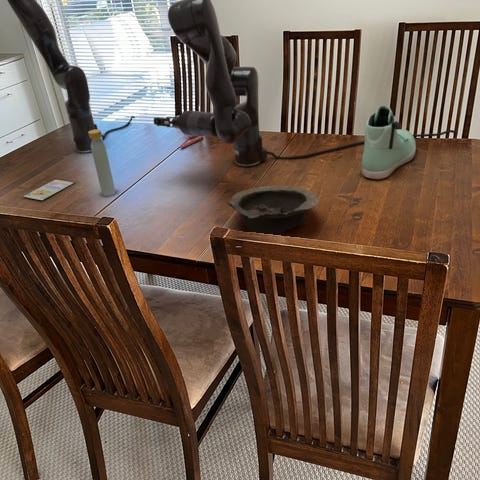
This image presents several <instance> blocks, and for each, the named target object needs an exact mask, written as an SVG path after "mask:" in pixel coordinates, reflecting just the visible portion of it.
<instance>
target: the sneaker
mask: <svg viewBox="0 0 480 480" xmlns="http://www.w3.org/2000/svg"><path fill="white" fill-rule="evenodd" d="M364 129H365V130H364V141H365V143H364V148H363V153H362V158H361V175H362V176H363V177H365V178H367V179H371V180H382V179H385V178H387V177H389V176H390V175H391V174H392V173H394V171H395V170H396V169H398V168H399V167H400V166H402V165H404V164H407V163H409V162H410V161H412V160H413V159H414V158H415V155H416V151H417V147H416V145H417V144H416V139H415V137H413V135H414V134H412V132H411V131H409V130H407V129H402V125H401V123H400V122H398V120H396V116H395V115H393V110H392V109H391V108H390V107H389V106H387V105H379V106H378V107H377V108H376V111H375V112H373V114H371V115H370V116H369V117H368V118H367V121H366V123H365V128H364Z"/></svg>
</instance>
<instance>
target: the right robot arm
mask: <svg viewBox="0 0 480 480" xmlns="http://www.w3.org/2000/svg"><path fill="white" fill-rule="evenodd" d="M167 20H168V22H169V27H170V28H171V30H172V32H173V33H174V35H175V36H176V38H177V39H178V40H179V41H180V42H181V43H182V44H184V45H185V46H186V47H188V48H189V50H191V51H192V52H194V53H195V54H196V55H197V56H198V57H199V58H200V59H201V61H202V62H203V64H205V66H206V70H205V71H206V72H205V79H204V80H205V81H204V82H205V88H206V90H207V94H208V97H209V99H210V102H211V105H212V108H213V109H212V110H213V112H207V111H201V110H185V111H183V112H182V113H181V114H180V115H175V116H173V115H172V116H170V115H169V116H166V117H162V116H161V117H154V118H153V124H154V125H156V127H166V128H172V129H173V128H174V129H179V130H180V132H181V133H183V134H184V135H186V136H189V135H194V136H203V137H211V138H212V137H213V138H214V137H215V138H217V137H218V138H219V139H220V141H222V142H223V143H224V144H229V145H230V144H233V147H234V149H233V153H234V159H235V160H234V163H235V165H237V166H238V167H246V168H248V167H249V168H250V167H255V166H258V165H259V164H260V163H264V160H267V159H268V155H270V156H272V157H273V158H275V159H277V160H294V159H295V160H296V159H302V158H303V159H304V158H308V157H312V156H316V155H321V154H325V153H329V152H333V151H337V150H341V149H345V148H350V147H353V146H359V145H364V144H365V140H361V141H356V142H352V143H349V144H348V143H347V144H344V145H340V146H336V147H331V148H327V149H324V150H320V151H316V152H311V153H307V154H306V153H305V154H301V155H292V156H280V155H279V156H278V155H277V154H275V153H274V152H272V151H268V149H266V148H264V147H263V138H262V136H261V134H260V121H259V120H260V119H259V74H258V70H257V69H256V68H255V67H254V66H236V65H237V59H238V58H237V57H238V55H237V52H236V50H235V48H234V46H233V45H232V43H231V42H230V41H229V40H228V39H227V37H225V36H224V35H222V34H221V31H220V25H219V22H218V21H219V20H218V17H217V14H216V10H215V7H214V4H213V2H212V0H178V1H176V2H174V3H172V4H171V5H170V6H169V7H168V10H167ZM237 97H246V100H244V102H241V103H238V98H237ZM448 133H449V134H450V133H452V134H454V135H458V132H457V131H456V130H453V129H448V130H445V131H442V132H439V133H421V134H420V133H418V134H417V133H416V134H412V135H413V137H414V138H420V137H421V138H422V137H425V138H427V137H439V136H443V135H445V134H448Z"/></svg>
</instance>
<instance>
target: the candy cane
mask: <svg viewBox="0 0 480 480" xmlns="http://www.w3.org/2000/svg"><path fill="white" fill-rule="evenodd" d="M203 138H204V136H194V135H188V139H190V140H189V141H187V142H184V143H182V144H180V146H179V148H180V149H184V148H186V147H188V146H190V145H193V144H194V143H197V142H199V141H200V140H203Z"/></svg>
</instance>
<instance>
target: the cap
mask: <svg viewBox="0 0 480 480" xmlns="http://www.w3.org/2000/svg"><path fill="white" fill-rule="evenodd" d="M88 133H89V138H90V139H97V138H100V139H101V138H102V135H103V134H102V131H101V129H98V128H97V129H95V130H91V131H89V132H88Z"/></svg>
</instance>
